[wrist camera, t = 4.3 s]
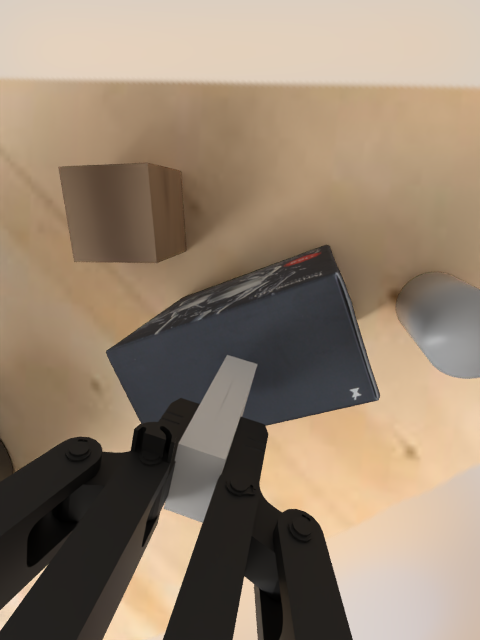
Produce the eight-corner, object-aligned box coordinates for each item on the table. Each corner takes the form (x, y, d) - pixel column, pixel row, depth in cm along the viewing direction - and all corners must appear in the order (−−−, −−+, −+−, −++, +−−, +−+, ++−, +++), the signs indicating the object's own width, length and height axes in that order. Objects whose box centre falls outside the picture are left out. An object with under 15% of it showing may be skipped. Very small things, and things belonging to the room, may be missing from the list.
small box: (329, 239, 26) (344, 267, 15) (356, 321, 28) (388, 402, 17) (177, 296, 30) (99, 352, 19) (209, 366, 32) (154, 456, 20)
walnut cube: (118, 250, 30) (74, 261, 24) (108, 173, 28) (58, 166, 22) (186, 250, 29) (156, 262, 23) (181, 171, 27) (147, 162, 21)
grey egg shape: (385, 325, 27) (409, 363, 21) (411, 263, 26) (446, 284, 19) (450, 344, 27) (495, 389, 20) (481, 282, 25) (541, 310, 19)
